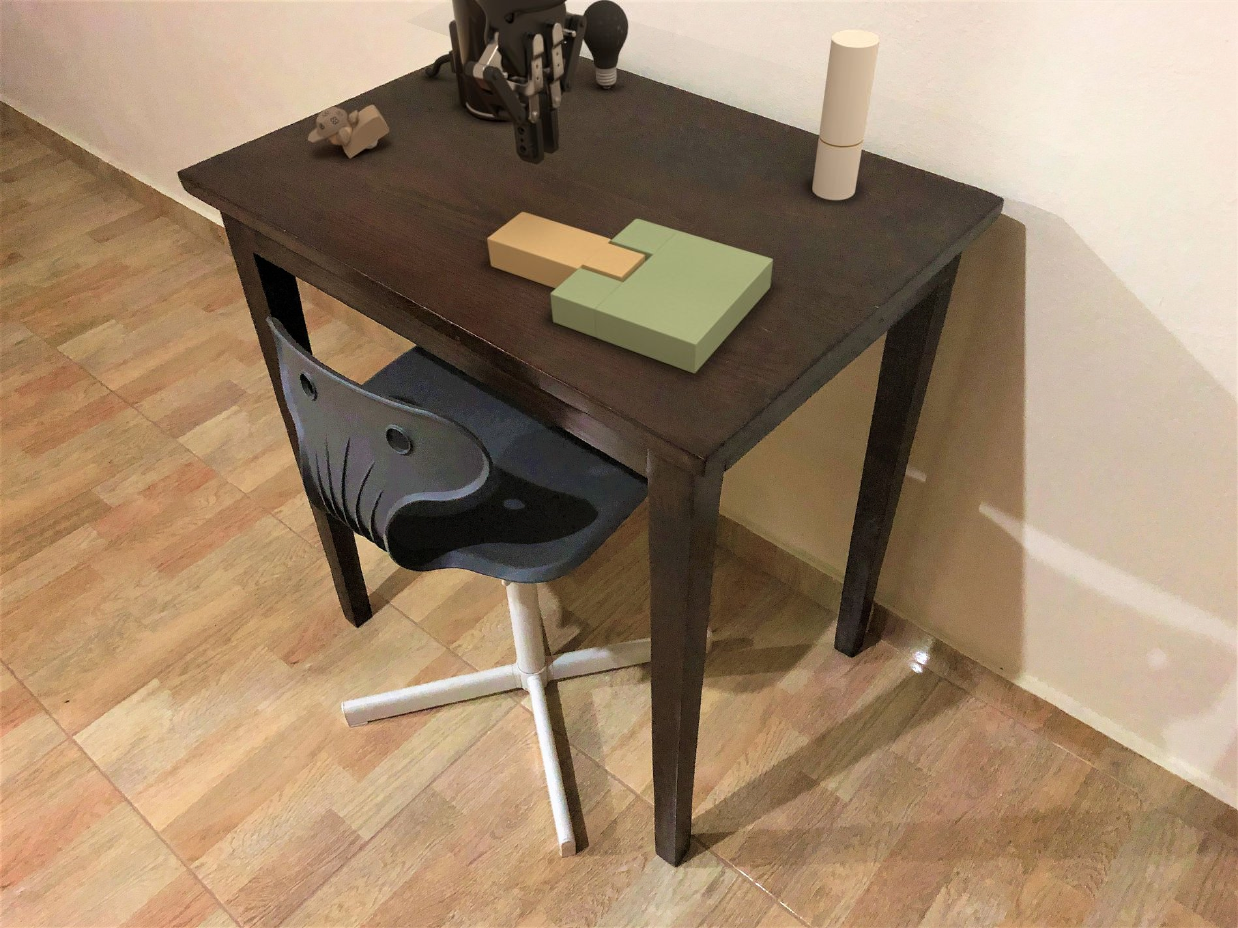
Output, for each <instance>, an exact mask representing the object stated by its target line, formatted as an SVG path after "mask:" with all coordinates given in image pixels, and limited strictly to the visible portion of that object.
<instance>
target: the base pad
mask: <svg viewBox="0 0 1238 928" xmlns="http://www.w3.org/2000/svg"><path fill="white" fill-rule="evenodd" d="M611 244H612V245H615V246H618V247H621V248H624V249H627V250H631V251H634V252H637V253H640V254H643V255H645V263H644V264H643V265H642V266H640V267H639V268H638V269H637V270H636V271H635V272H634V273H633V274H632V275H631V276H630V277H629V278H628V279H627V280H625V281H624V282H621V281H618V280H615V279H612V278H609V277H606V276H603V275H600V274H597V273H594V272H591V271H588V270H585V269H582V268H579V269H578V270H577V271H576V272H574V273H573V274H572V275H571V276H570V277H569V278H568V279H566V280H565V281H564V282H563V283H562V284H561V285H560V286H558V287H557V288H554V290H552V291H551V292H550V303H551V304H550V305H551V315H552V322H553V323H554V324H558V325H560V326H563V327H566V328H568V329H571V330H574V331H576V332H579V333H582V334H585V335H588V336H590V337H594V338H596V339H599V340H602V341H604V342H606V343H610V344H612V345H615V346H618V347H621V348H623V349H625V350H627V351H632V352H635V353H637V354H640V355H641V356H642V355H643V356H645V357H648V358H651V359H652V360H656V361H659V362H661V363H664V364H667V365H669V366H672V367H675V368H678V369H681V370H683V371H686V372H689V373H692V374H696V373H697V372H698V371H699V370H700V369H701V367H702V366H703V365H704V364H705V363H706V361H708V359H709V358H710V357H711V356H712V355H713V353H714V352H715V351H716V350H717V349H718V348H719V346H721V345H722V343H723V342H724V341H725V340H726V339H727V337H728V336H729V335H730V334H731V333H732V332H733V331H734V330H735V328H736V327H737V326H738V325H739V324H740V323H741V321H742V320H743V319H744V318H745V317H746V316H747V315H748V314H749V312H751V310H752V309H753V308H754V307H755V305H756V304H757V303H758V302H759V301H760V300H761V299H762V298H763V296H764V295H765V294H766V293H767V292H768V291H769V289H771V284H772V283H771V282H772V275H773V274H772V273H773V264H774V259H773V258H771V257H767V256H765V255H761V254H757V253H754V252H751V251H748V250H745V249H741V248H738V247H734V246H731V245H727V244H724V243H721V242H718V241H714V240H711V239H707V238H704V237H701V236H697V235H695V234H690V233H687V232H684V231H681V230H677V229H674V228H671V227H667V226H663V225H660V224H657V223H654V222H650V221H647V220H644V219H640V218H635V219H634V220H633V221H632V222H630V223H629V224H628V225H627V226H625V228H623V229H622V230H621V231H620V232H619V233H617V235H616V236H614V237H613V238H612V239H611Z"/></svg>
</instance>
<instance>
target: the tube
mask: <svg viewBox="0 0 1238 928" xmlns="http://www.w3.org/2000/svg"><path fill="white" fill-rule="evenodd" d="M880 40H881V39H880V37H879V36H878V35H877V33H874V32H871V31H867V30H863V29H844V30H839V31H837V32H835V33H833V34H832V36H831V39H830V47H829V55H828V63H827V72H826V79H825V87H824V93H823V94H824V95H823V102H822V111H821V118H820V126H819V135H818V142H817V149H816V155H815V156H816V157H815V165H814V173H813V180H812V192H813V193H814V194H815V195H816V196H817V197H819V198H821V199H824V200H829V201H842V200H847V199H849V198H851V197H853V196H854V194H855V193H856V187H857V181H858V175H859V168H860V163H861V156H862V150H863V144H864V137H865V132H866V125H867V120H868V113H869V108H870V102H871V95H872V90H873V82H874V77H875V71H876V65H877V59H878V52H879V46H880Z"/></svg>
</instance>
